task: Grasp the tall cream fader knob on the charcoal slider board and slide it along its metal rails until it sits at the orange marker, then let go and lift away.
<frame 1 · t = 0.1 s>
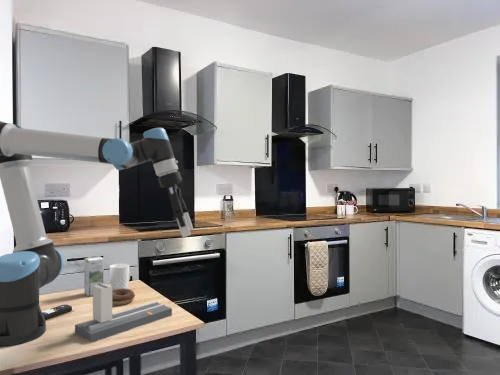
hand: (188, 233, 125), 28 cm above the table, tool tilted 20°, fingers open, 13 cm apart
slider board: (126, 323, 118), on the table
fader knob: (102, 303, 111), point 8 cm above the table, slide at 0.0 cm
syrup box: (94, 294, 148), on the table
donut: (119, 302, 139), on the table
white cup: (119, 289, 154), on the table
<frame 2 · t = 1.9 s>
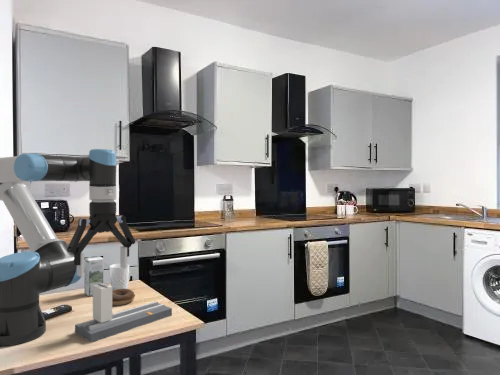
hand: (103, 271, 111), 18 cm above the table, tool pointing down, fingers open, 13 cm apart
nothing on the table moved.
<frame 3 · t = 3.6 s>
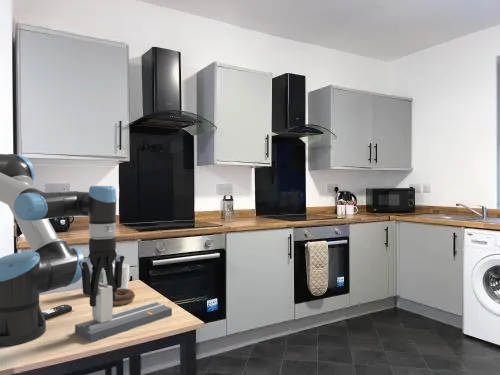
hand: (102, 314, 111), 5 cm above the table, tool pointing down, fingers closed on fader knob, 3 cm apart
fader knob: (102, 303, 111), point 8 cm above the table, slide at 0.0 cm, touching gripper
everything else where it was.
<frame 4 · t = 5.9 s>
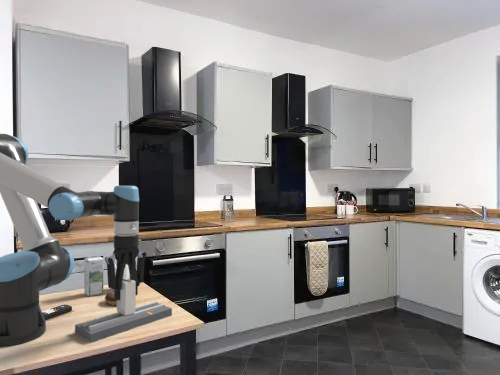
hand: (126, 307, 117), 5 cm above the table, tool pointing down, fingers closed on fader knob, 4 cm apart
fader knob: (126, 297, 117), point 8 cm above the table, slide at 7.9 cm, touching gripper
everything else where it was.
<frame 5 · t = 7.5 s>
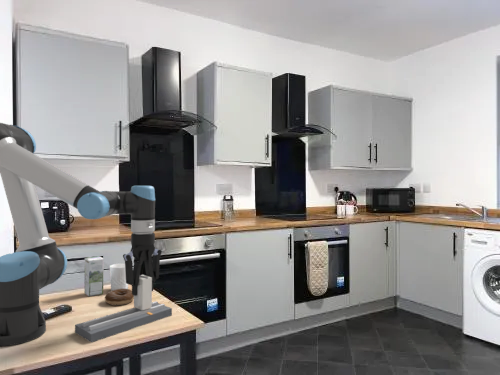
hand: (142, 303, 122), 5 cm above the table, tool pointing down, fingers closed on fader knob, 3 cm apart
fader knob: (142, 293, 122), point 8 cm above the table, slide at 14.0 cm, touching gripper
everything else where it was.
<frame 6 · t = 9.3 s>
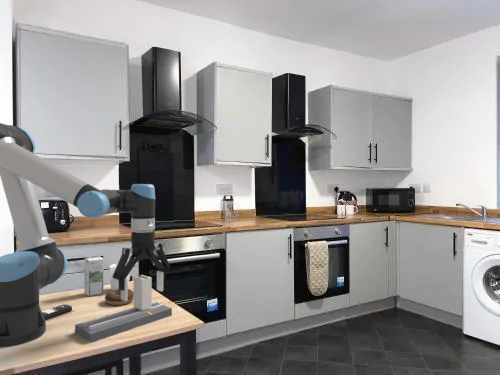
hand: (142, 295, 122), 8 cm above the table, tool pointing down, fingers open, 13 cm apart
fader knob: (142, 293, 122), point 8 cm above the table, slide at 13.9 cm
everything else where it was.
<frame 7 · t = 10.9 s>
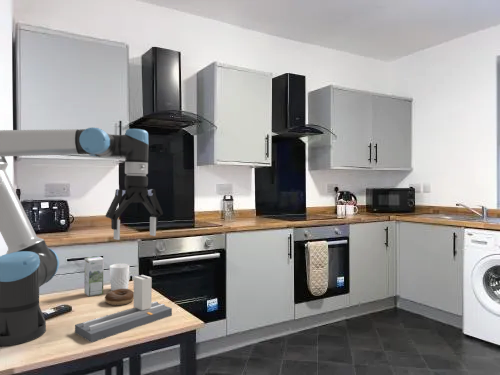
hand: (135, 237, 126), 26 cm above the table, tool pointing down, fingers open, 13 cm apart
nothing on the table moved.
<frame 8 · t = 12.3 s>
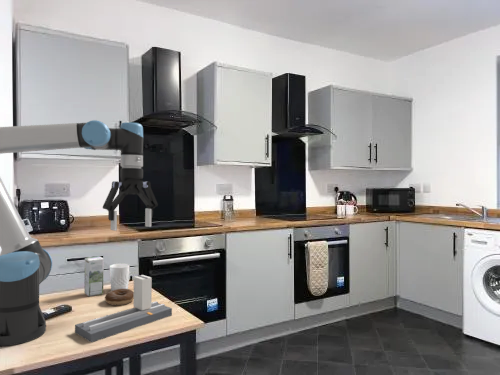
hand: (131, 228, 130), 29 cm above the table, tool pointing down, fingers open, 13 cm apart
nothing on the table moved.
at the end: fader knob slide at 13.9 cm; the gripper is holding nothing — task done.
